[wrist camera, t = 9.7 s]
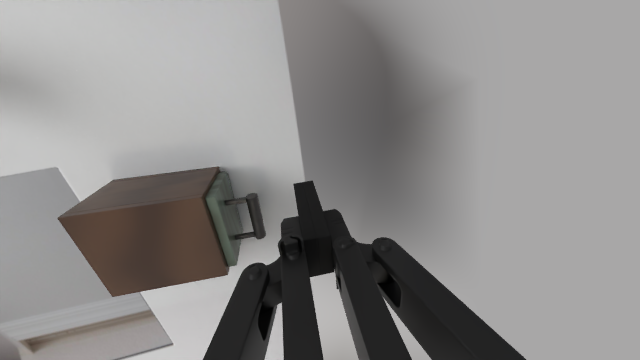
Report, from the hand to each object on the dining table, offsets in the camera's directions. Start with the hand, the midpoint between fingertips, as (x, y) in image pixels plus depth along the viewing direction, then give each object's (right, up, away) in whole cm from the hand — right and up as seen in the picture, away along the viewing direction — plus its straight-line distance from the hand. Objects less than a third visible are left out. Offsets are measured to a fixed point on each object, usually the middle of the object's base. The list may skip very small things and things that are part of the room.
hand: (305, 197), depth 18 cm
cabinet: (-21, -3, +18) cm, 28 cm away
